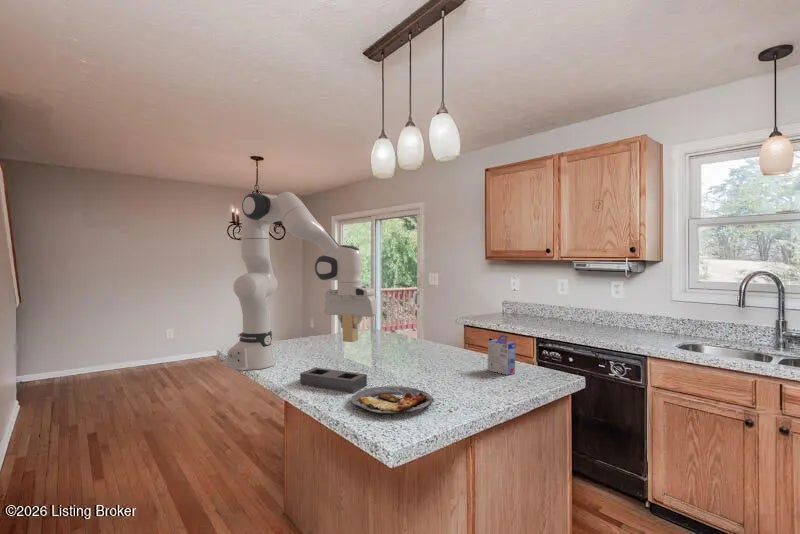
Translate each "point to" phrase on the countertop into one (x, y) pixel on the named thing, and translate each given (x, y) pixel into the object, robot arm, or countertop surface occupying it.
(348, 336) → the square peg
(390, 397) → the food plate
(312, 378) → the grey peg hole block
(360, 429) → the countertop surface
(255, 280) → the robot arm
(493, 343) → the ink cartridge box
